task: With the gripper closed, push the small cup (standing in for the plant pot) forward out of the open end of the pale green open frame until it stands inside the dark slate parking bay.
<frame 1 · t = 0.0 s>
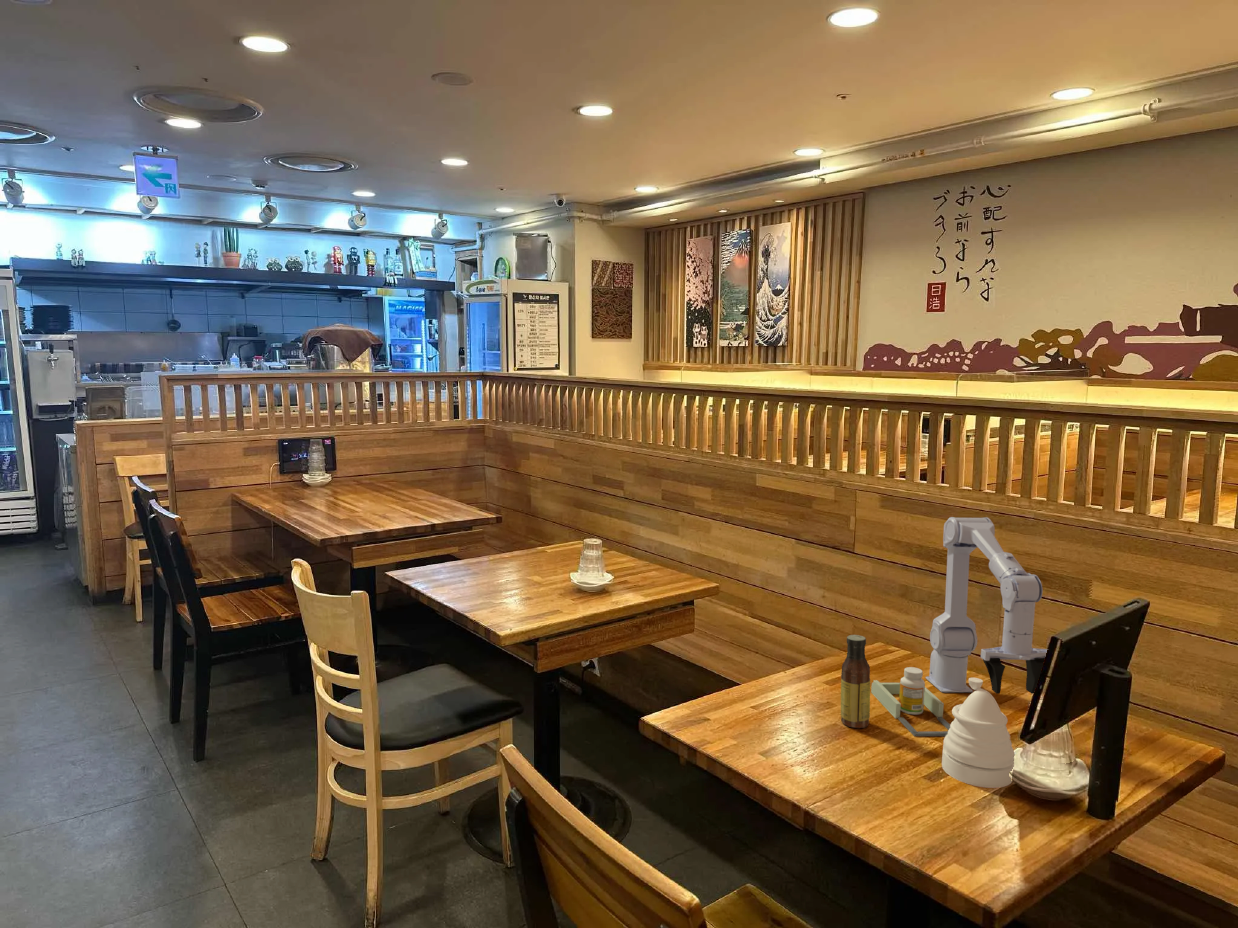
hand: (1013, 691, 175), 10 cm above the table, fingers open, 7 cm apart
sauce bottle: (853, 724, 182), on the table
pale green open frame: (906, 705, 192), on the table
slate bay: (927, 726, 181), on the table
supplement bottle: (910, 711, 189), on the table
honey pot: (976, 772, 161), on the table
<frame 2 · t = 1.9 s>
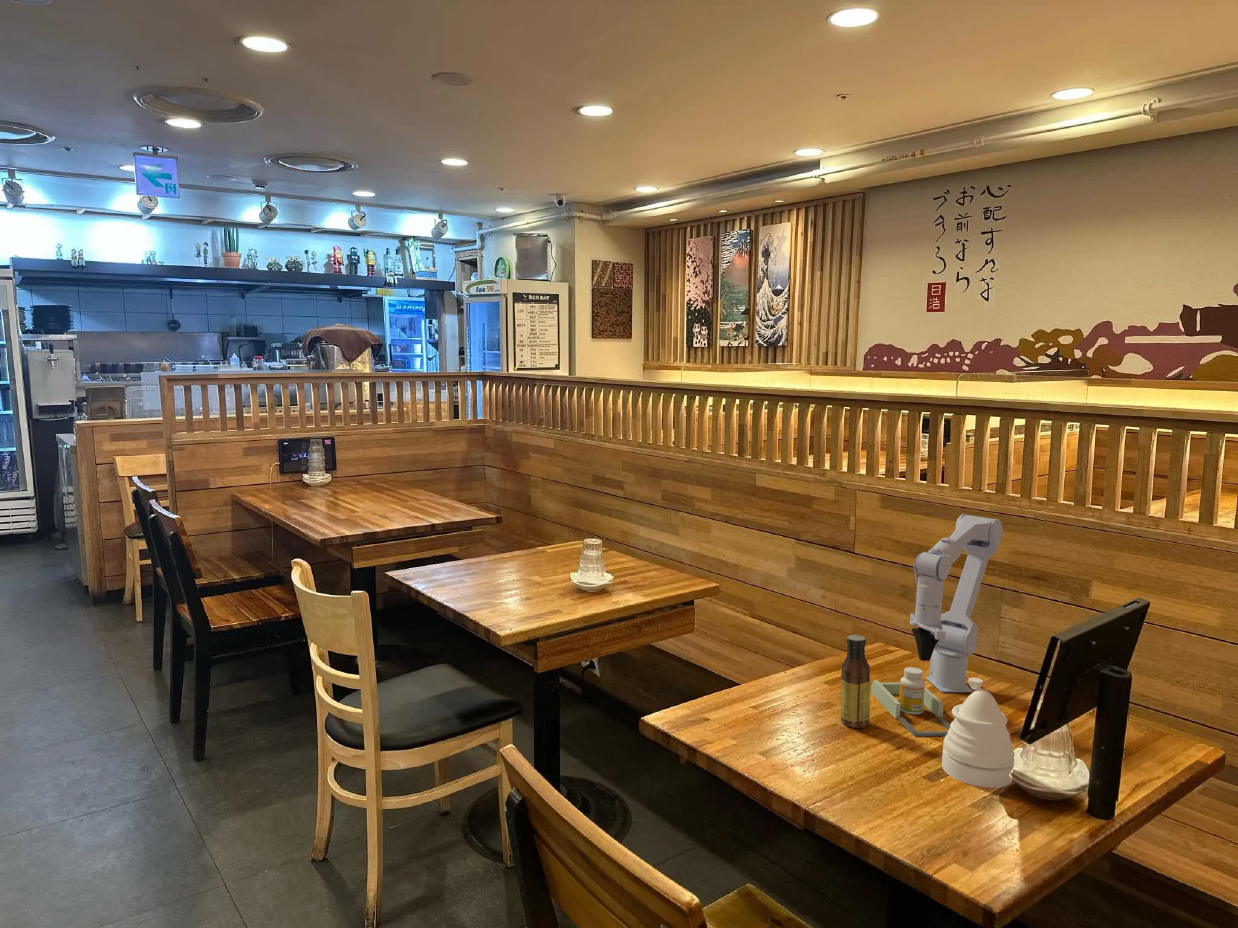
hand: (924, 659, 193), 10 cm above the table, fingers closed
nothing on the table moved.
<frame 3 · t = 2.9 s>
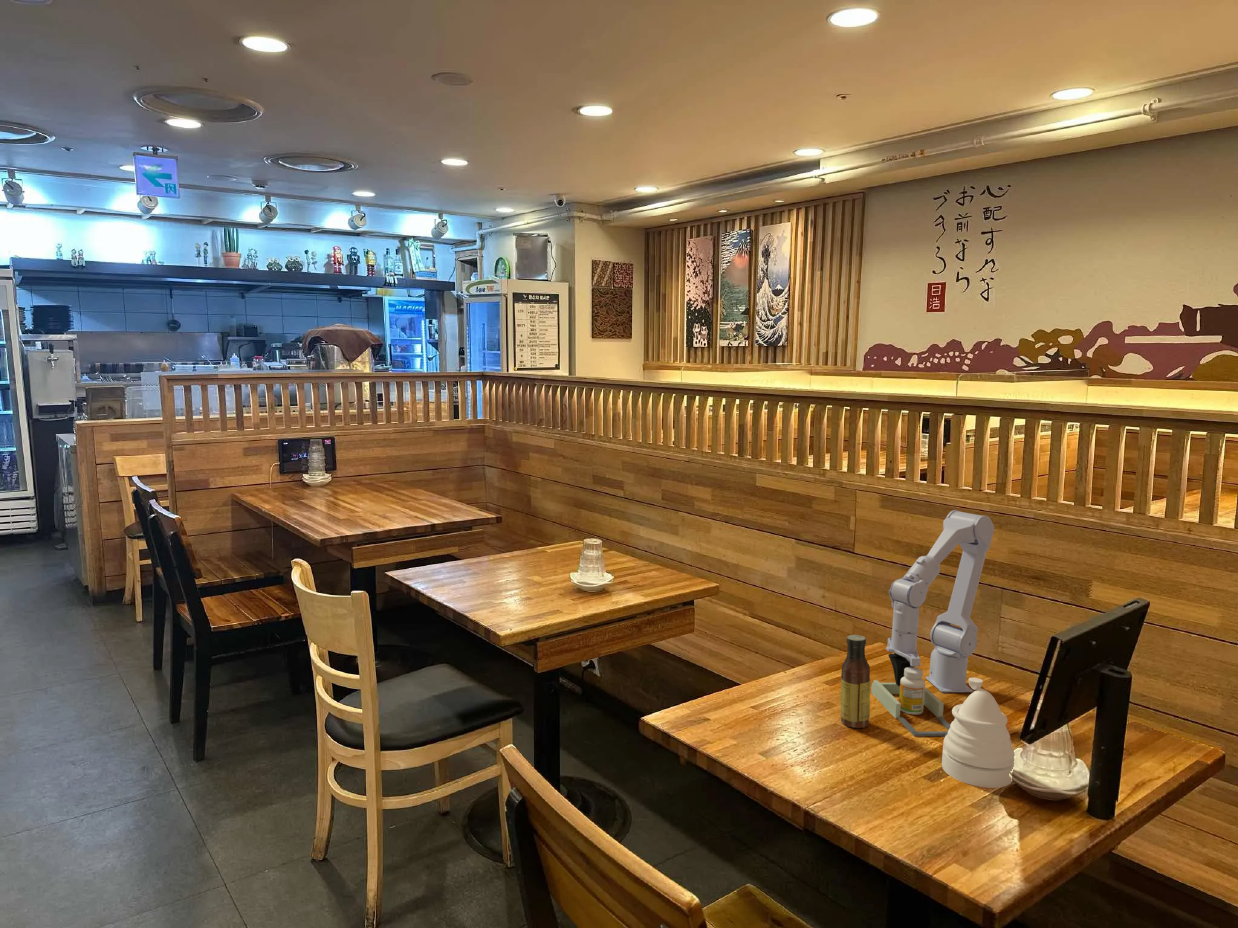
hand: (901, 684, 195), 4 cm above the table, fingers closed
nothing on the table moved.
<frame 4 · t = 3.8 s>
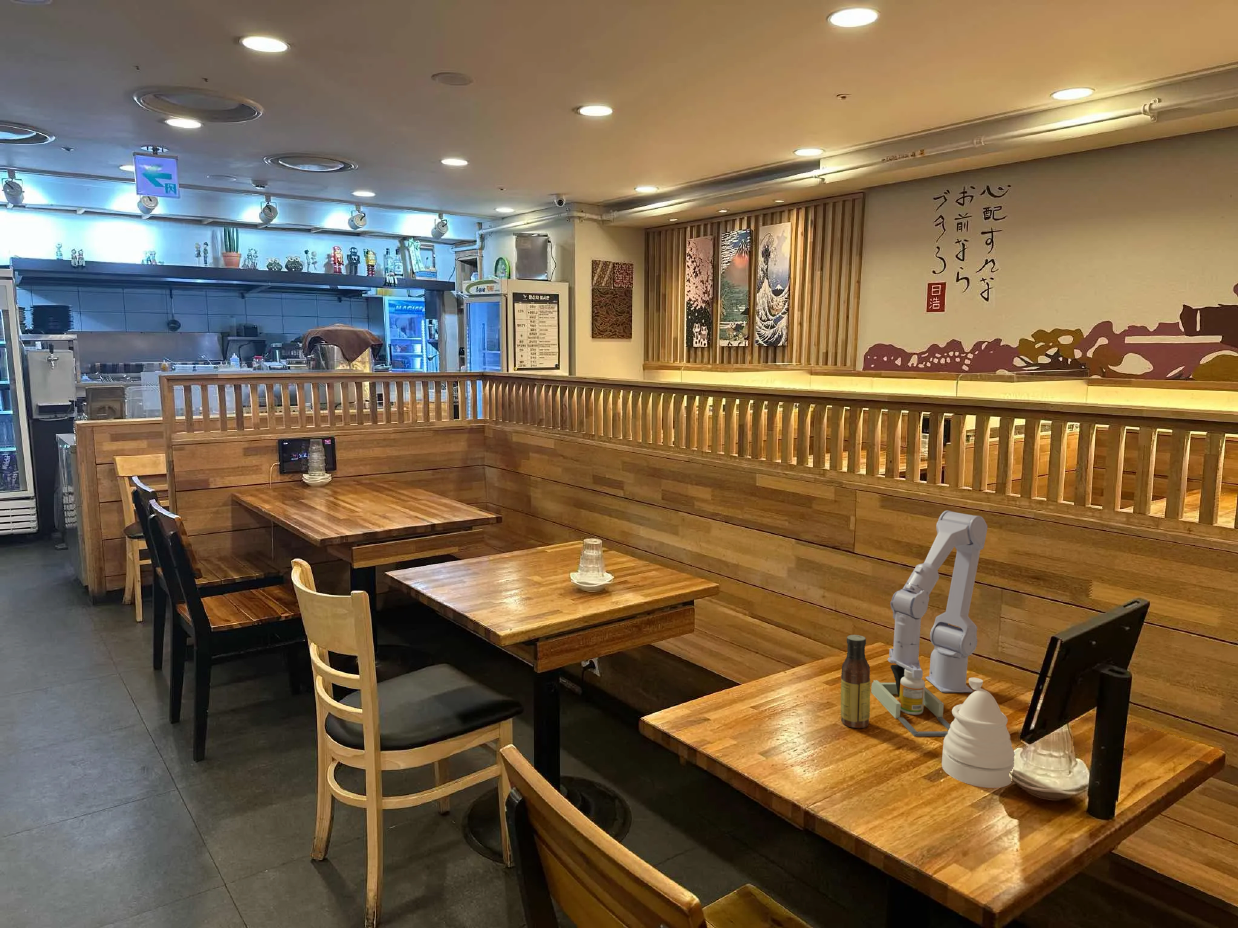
hand: (903, 696, 194), 1 cm above the table, fingers closed
supplement bottle: (910, 710, 189), on the table, touching gripper
everything else where it was.
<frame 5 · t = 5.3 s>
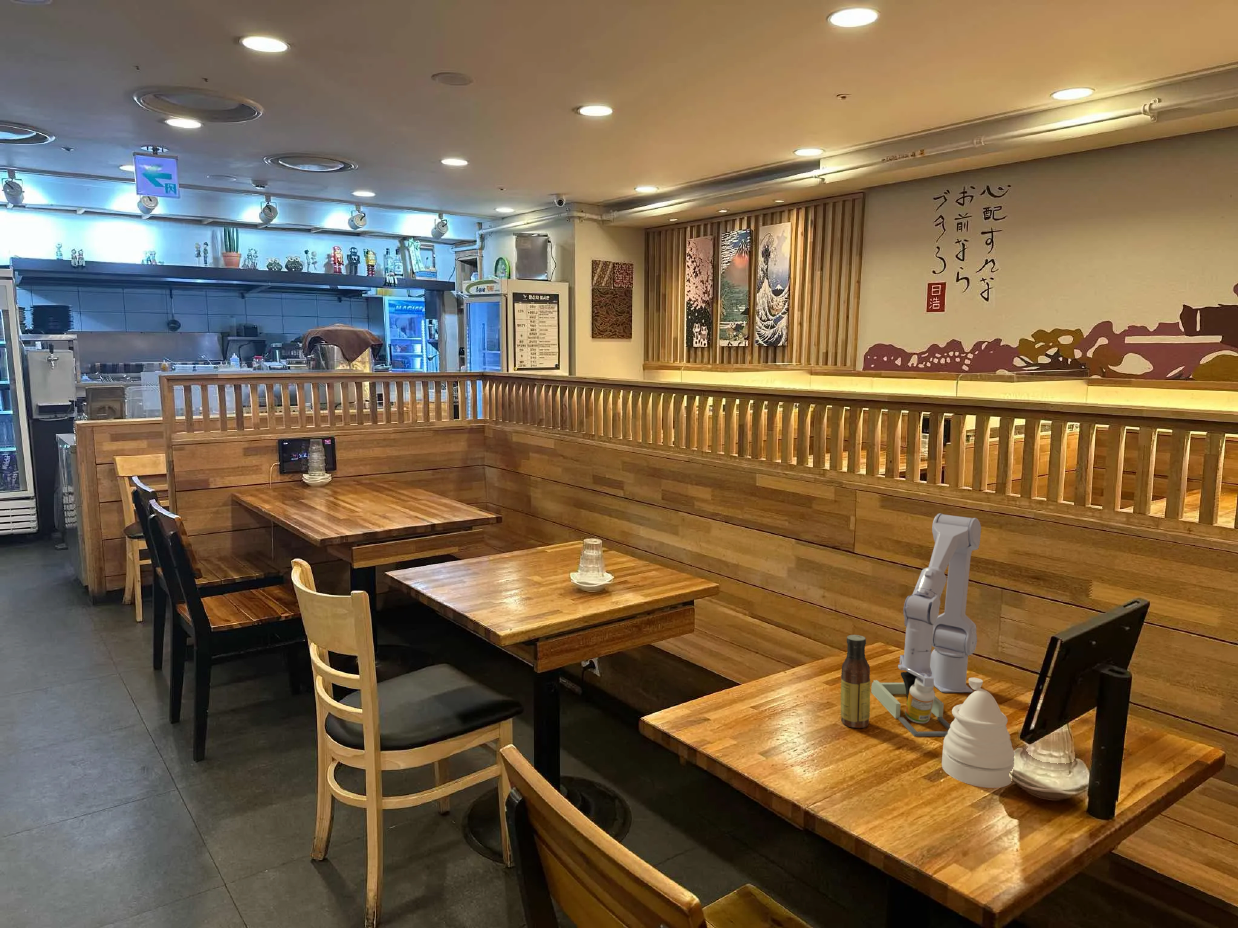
hand: (913, 704, 187), 2 cm above the table, fingers closed, pressing on supplement bottle
supplement bottle: (916, 716, 185), on the table, touching gripper
everything else where it was.
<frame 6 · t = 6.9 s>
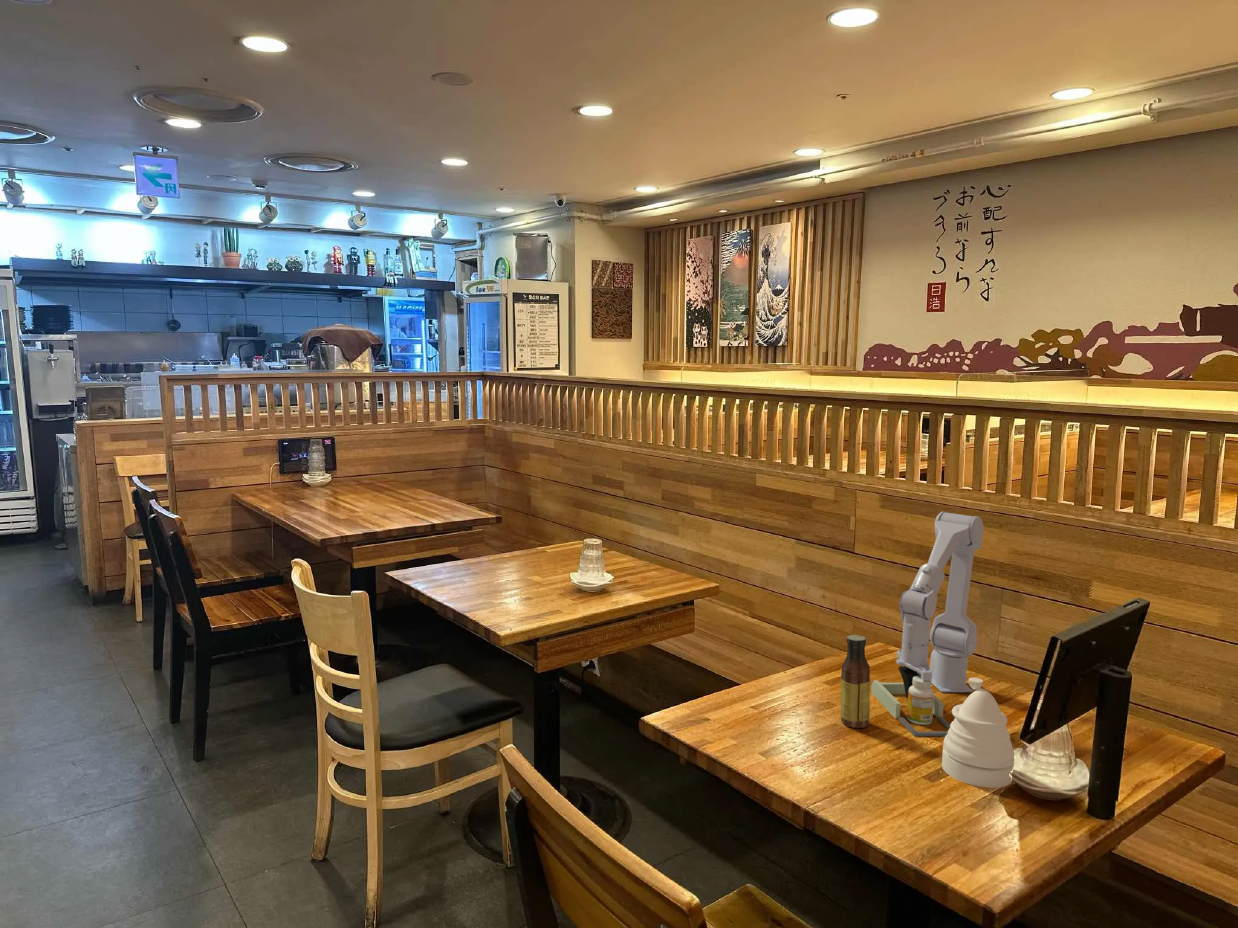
hand: (911, 698, 189), 3 cm above the table, fingers closed
supplement bottle: (919, 721, 184), on the table
everything else where it was.
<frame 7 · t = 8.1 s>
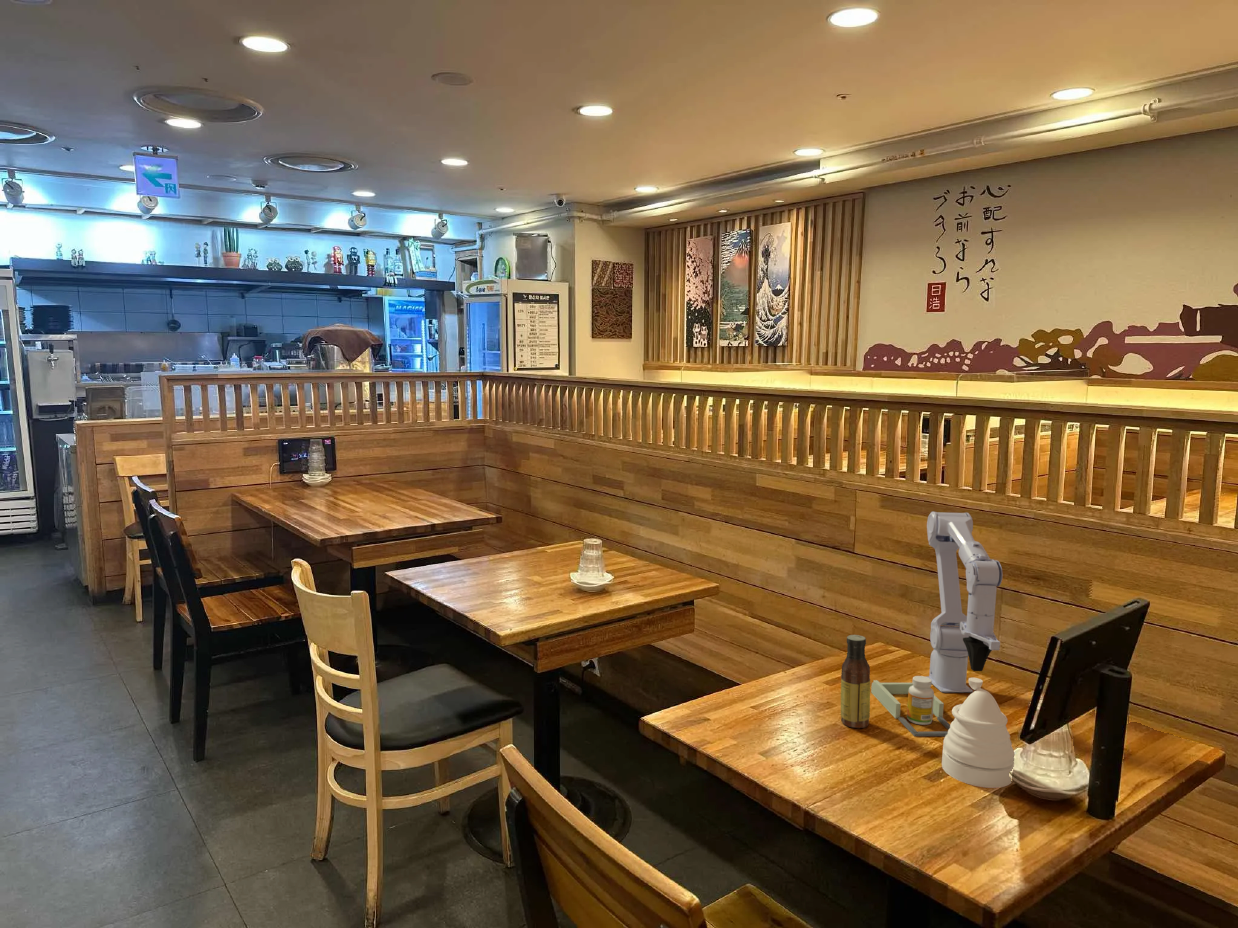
hand: (976, 670, 187), 10 cm above the table, fingers closed
nothing on the table moved.
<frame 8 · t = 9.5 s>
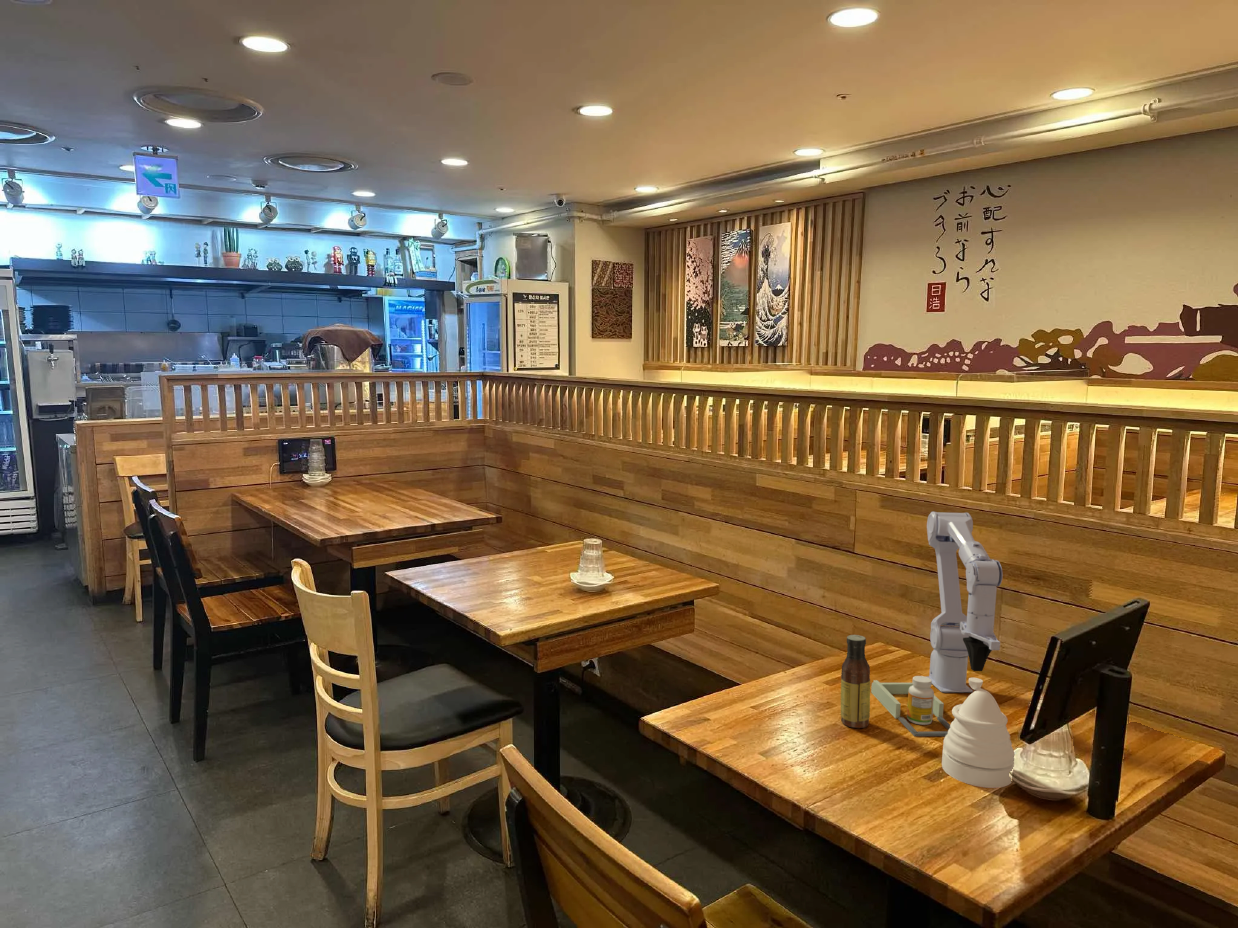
hand: (976, 670, 187), 10 cm above the table, fingers closed
nothing on the table moved.
at the end: supplement bottle inside the target area on the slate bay (2.8 cm from its centre), point 0.0 cm above the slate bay's base; supplement bottle tilted 0°; supplement bottle inside the target area (4.8 cm from its centre), on the table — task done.
